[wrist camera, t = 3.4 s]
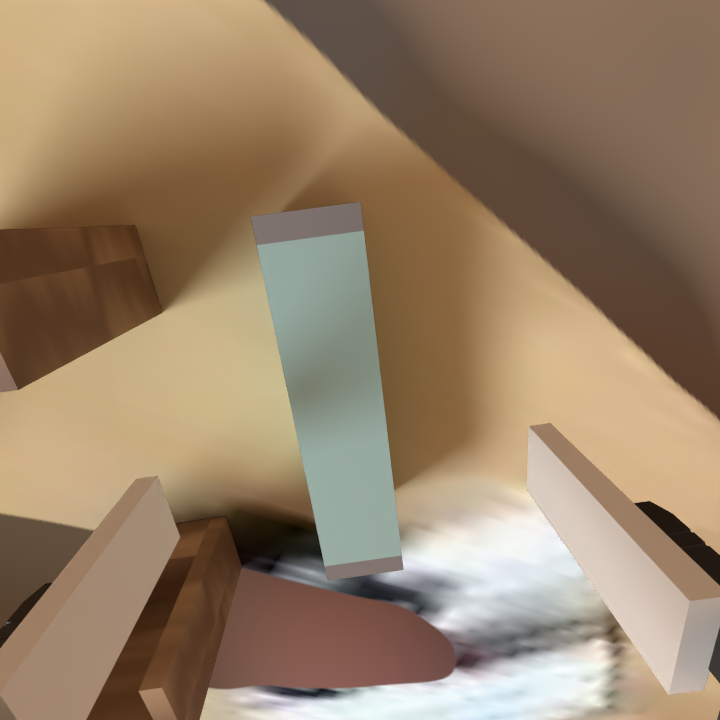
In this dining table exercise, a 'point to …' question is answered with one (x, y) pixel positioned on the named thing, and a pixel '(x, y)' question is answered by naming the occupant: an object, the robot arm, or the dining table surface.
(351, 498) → the rail
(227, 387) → the dining table surface
